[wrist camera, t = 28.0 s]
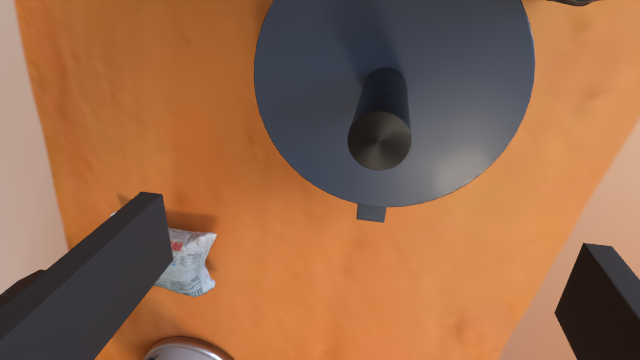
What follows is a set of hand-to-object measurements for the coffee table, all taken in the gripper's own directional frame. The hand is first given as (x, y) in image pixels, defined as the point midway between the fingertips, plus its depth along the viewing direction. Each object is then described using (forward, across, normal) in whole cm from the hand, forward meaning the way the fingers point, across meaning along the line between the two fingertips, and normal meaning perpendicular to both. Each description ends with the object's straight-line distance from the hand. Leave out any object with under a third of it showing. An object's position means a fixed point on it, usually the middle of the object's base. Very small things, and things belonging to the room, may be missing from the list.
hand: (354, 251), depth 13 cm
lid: (+18, 0, +1) cm, 18 cm away
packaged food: (+25, -22, -21) cm, 40 cm away
